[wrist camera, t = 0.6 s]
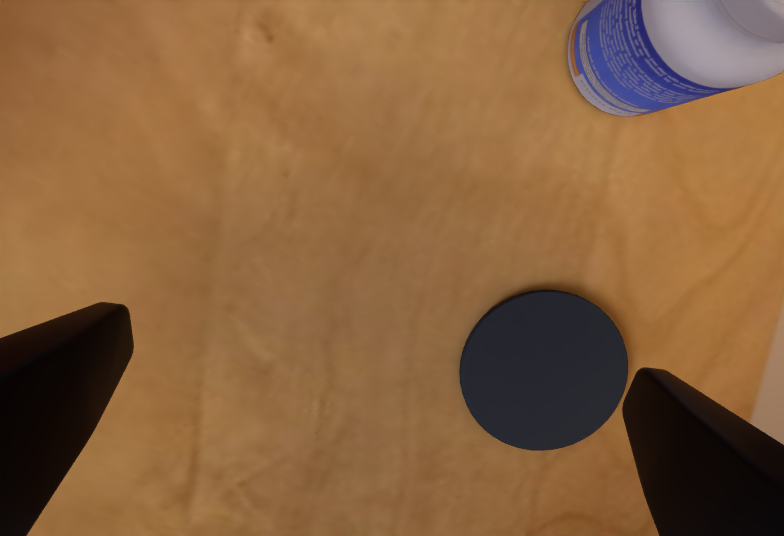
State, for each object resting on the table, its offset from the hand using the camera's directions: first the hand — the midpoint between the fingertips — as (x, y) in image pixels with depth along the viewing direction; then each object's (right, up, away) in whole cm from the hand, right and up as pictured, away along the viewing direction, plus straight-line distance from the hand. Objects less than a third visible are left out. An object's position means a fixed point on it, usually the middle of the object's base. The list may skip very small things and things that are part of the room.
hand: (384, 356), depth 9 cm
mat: (+7, -3, +14) cm, 16 cm away
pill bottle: (+10, +11, +12) cm, 19 cm away
